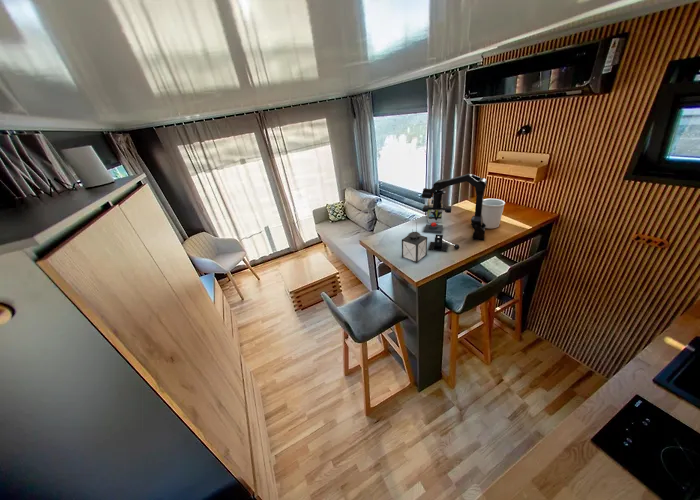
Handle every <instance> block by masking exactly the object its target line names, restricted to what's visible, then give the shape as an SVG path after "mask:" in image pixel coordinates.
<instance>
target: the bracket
mask: <svg viewBox="0 0 700 500" xmlns="http://www.w3.org/2000/svg"><path fill="white" fill-rule="evenodd" d="M437 236H439V237H442V238H437ZM442 239H443V240H444V235H443V234H435V237H434V241H430V242H429V246H428V251H432V252H433V251H434V252H441V253H442V252H444V253H447V251H448V245H449V244H447V243H444V242H442Z"/></svg>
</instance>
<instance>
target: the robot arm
mask: <svg viewBox="0 0 700 500" xmlns="http://www.w3.org/2000/svg"><path fill="white" fill-rule="evenodd" d="M461 183H468V184H469V185H471V186H472V187H474V189H475V194H476V195H475V209H474V215H472V217H471V219H470V226H471V228H472V229H473V231H472V240H473V241H481V242H483V241H485V235H486V228H485V227H486V225H485V224H484V223H483V217H482V206H483V199H484V195H485V191H486V189H487V186H488V180H487V179H486V177H485V178H484V177H480V176H478V175H475V174H473V173H465V174H463V175H459V176H455V177H452V178H451V177H450V178H447V179H438V180H436V181H435V182H434V183H433V185H432V188H426V187H424V188H423V190H422V193H421V198H422V199H427V200H428V199H433V200H432V203H431V204H433V207H429V205H428V204H427V205H426V204H425V205H423V207H422V212H423V213H427V212H428V210H431V213H433V215H434V218H435V220H437V219H438V217H439V215H440V214H442V215H443V211H444V213H446V214H451V213H452V208H453V207H452V206H451V205H445V207H443V206H442V205H443V195H445V194H446V193H447V191H446V190H445V188H448V187H451V186H455V185H458V184H461ZM436 210H438V213H437V217H436Z"/></svg>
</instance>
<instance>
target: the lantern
mask: <svg viewBox="0 0 700 500" xmlns="http://www.w3.org/2000/svg"><path fill="white" fill-rule="evenodd" d="M412 217H414V219H415V220H417V219H416V217H415V215H414V214H413V216H412ZM415 224H416V225H415V227H416V228H415V231H414V230H412V231H411V232H409V233H408V234H407V236H405V237H403V238H401V258H402V259H406V260H409V261H411V262H413V263H415V264H418V263H419V261H421V260H422V259H424V258H425V257H426V256H427V253H428V236H424V235H422V234H421V233H420V232H418V231H417V229H418V228H417V225H418V224H417V223H415Z"/></svg>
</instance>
